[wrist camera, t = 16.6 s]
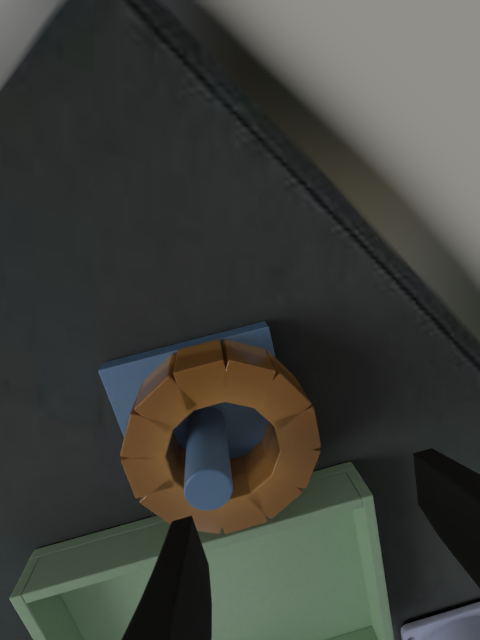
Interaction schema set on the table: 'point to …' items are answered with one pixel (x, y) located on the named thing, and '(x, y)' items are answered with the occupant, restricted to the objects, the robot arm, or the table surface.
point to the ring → (247, 471)
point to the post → (196, 418)
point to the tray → (228, 573)
